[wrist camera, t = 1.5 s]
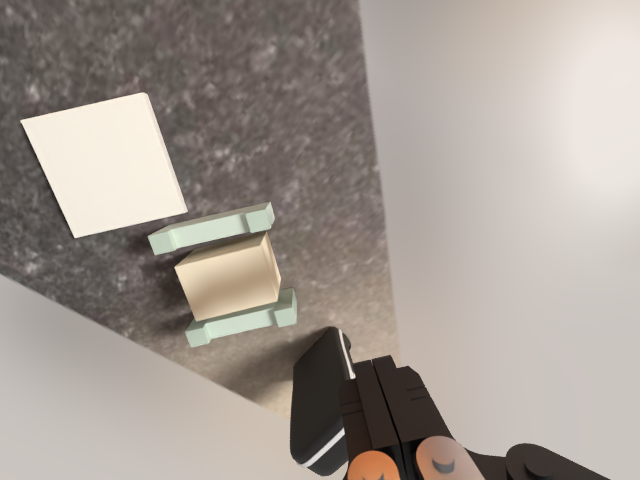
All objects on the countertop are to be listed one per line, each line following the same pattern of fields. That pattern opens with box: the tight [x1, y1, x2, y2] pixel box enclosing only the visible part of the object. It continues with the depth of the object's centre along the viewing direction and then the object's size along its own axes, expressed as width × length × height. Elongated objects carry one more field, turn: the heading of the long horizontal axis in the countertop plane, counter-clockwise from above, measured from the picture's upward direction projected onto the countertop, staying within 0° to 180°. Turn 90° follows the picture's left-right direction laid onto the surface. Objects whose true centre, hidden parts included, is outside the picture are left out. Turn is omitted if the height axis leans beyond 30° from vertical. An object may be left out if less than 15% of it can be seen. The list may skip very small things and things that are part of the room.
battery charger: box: [290, 327, 355, 476], centre depth 27 cm, size 7×4×11 cm, turn 138°
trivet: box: [21, 92, 188, 238], centre depth 26 cm, size 10×10×1 cm
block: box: [175, 231, 281, 321], centre depth 27 cm, size 5×7×5 cm
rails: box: [148, 202, 297, 347], centre depth 28 cm, size 10×10×4 cm
